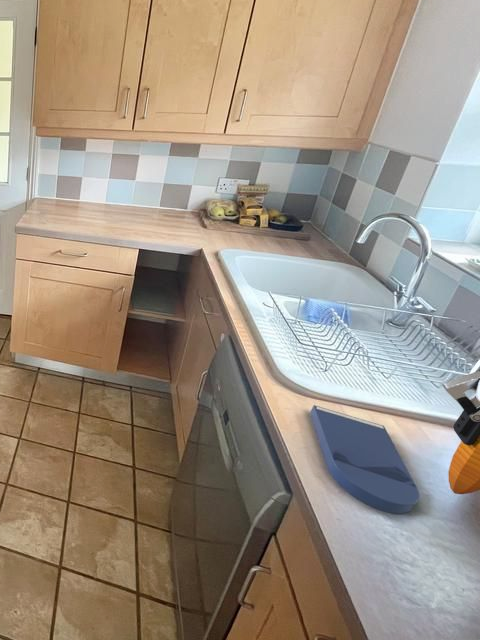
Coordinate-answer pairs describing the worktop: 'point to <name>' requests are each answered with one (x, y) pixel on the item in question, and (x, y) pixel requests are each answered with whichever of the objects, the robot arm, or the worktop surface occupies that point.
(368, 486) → the board
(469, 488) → the carrot
